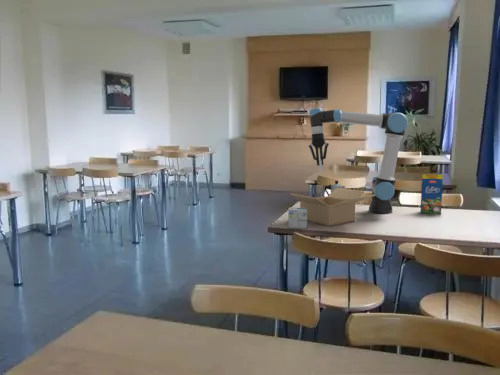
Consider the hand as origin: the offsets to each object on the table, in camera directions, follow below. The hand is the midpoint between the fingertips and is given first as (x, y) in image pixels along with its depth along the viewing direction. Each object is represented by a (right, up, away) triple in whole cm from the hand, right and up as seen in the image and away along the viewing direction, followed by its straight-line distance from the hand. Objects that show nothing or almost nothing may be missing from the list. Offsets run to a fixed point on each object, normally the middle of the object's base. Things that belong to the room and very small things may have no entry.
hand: (320, 170), depth 310 cm
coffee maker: (+14, -24, +33) cm, 43 cm away
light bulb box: (-18, -33, -31) cm, 49 cm away
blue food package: (+72, -27, +7) cm, 78 cm away
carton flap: (+14, -18, -32) cm, 39 cm away
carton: (+2, -31, -14) cm, 34 cm away
